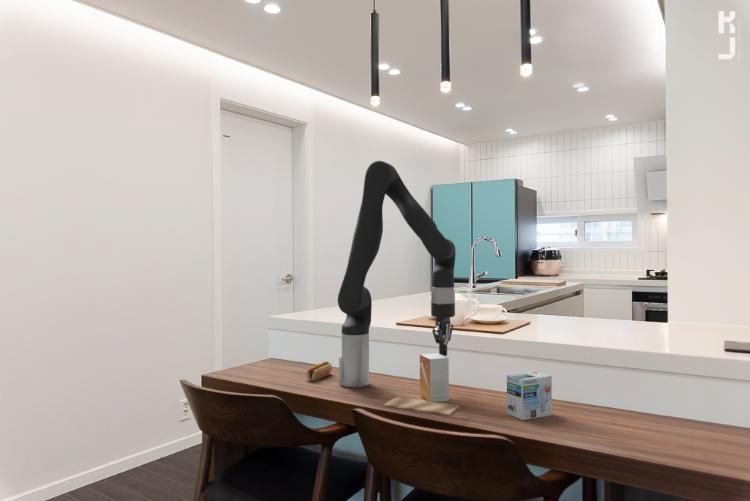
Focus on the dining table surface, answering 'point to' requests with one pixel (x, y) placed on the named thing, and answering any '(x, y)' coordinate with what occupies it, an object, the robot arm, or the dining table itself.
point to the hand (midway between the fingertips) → (443, 356)
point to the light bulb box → (529, 395)
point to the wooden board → (422, 406)
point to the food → (319, 371)
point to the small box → (434, 377)
